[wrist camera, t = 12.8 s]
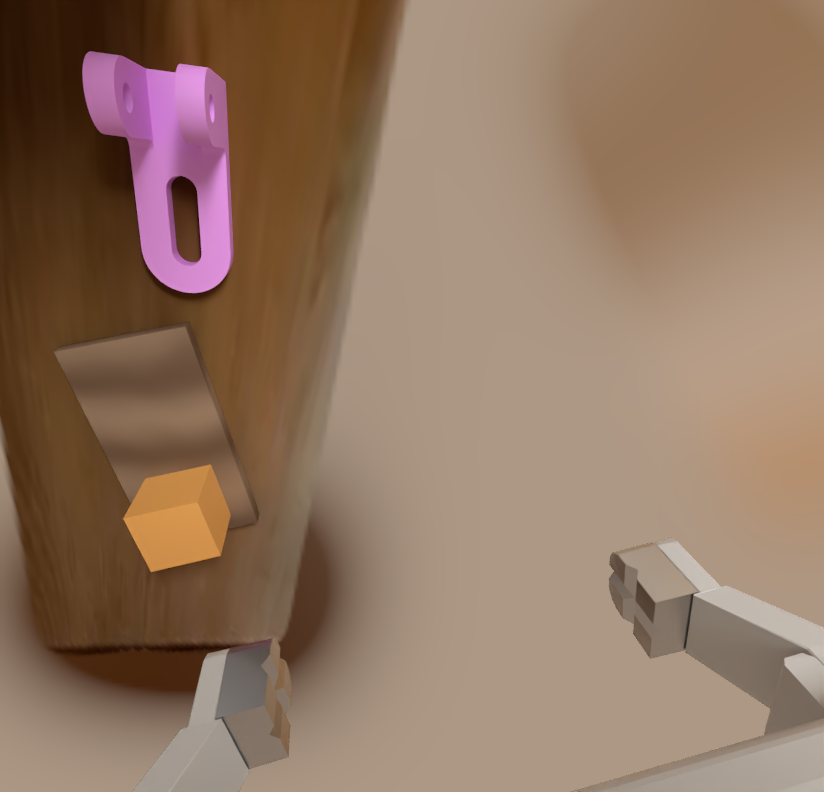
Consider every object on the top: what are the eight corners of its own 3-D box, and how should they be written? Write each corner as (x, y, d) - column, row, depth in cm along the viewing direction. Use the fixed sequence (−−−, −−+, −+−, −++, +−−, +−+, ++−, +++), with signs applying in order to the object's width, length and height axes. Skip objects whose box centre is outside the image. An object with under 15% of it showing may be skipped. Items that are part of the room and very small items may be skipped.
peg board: (61, 346, 35) (27, 370, 31) (189, 321, 36) (172, 342, 32) (156, 537, 43) (139, 576, 39) (259, 513, 44) (253, 550, 40)
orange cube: (145, 478, 40) (123, 518, 35) (210, 464, 40) (197, 502, 36) (168, 528, 42) (151, 571, 37) (230, 514, 42) (220, 555, 38)
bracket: (128, 69, 30) (76, 44, 23) (226, 82, 31) (202, 61, 24) (152, 286, 35) (116, 312, 29) (235, 290, 36) (217, 317, 30)
